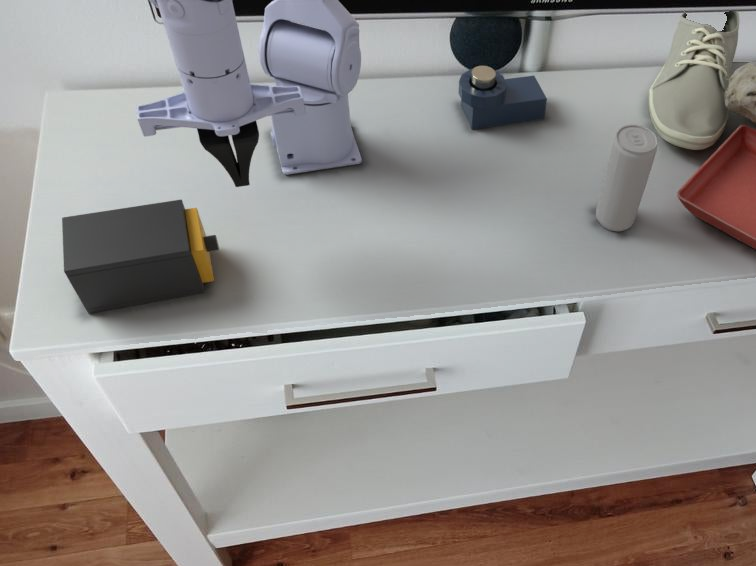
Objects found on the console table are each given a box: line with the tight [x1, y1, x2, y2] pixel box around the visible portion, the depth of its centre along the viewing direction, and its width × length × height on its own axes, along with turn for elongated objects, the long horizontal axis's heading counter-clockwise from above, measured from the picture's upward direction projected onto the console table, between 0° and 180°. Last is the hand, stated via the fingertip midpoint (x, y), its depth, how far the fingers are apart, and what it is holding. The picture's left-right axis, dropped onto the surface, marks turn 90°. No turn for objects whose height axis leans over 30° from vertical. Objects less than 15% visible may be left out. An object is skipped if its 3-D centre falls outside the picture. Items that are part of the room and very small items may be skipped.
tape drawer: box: [185, 207, 220, 284], centre depth 80 cm, size 12×6×5 cm, turn 109°
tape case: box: [61, 199, 206, 315], centre depth 79 cm, size 11×7×6 cm, turn 109°
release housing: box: [458, 68, 548, 130], centre depth 100 cm, size 11×6×5 cm, turn 109°
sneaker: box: [648, 10, 740, 151], centre depth 105 cm, size 11×29×8 cm, turn 165°
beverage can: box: [595, 124, 659, 232], centre depth 88 cm, size 5×5×12 cm
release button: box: [471, 65, 496, 91], centre depth 97 cm, size 3×3×2 cm
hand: (241, 179), depth 78 cm, fingers closed
